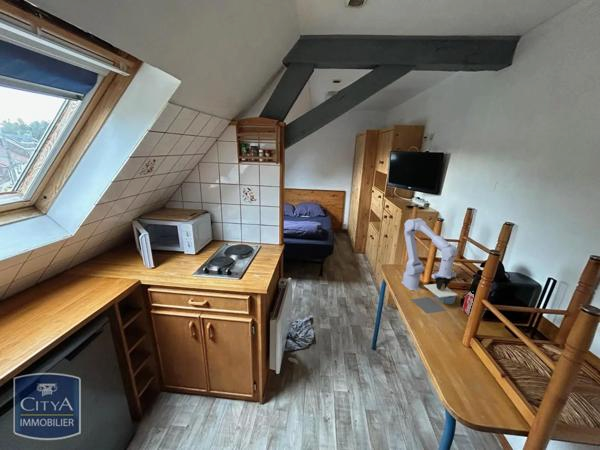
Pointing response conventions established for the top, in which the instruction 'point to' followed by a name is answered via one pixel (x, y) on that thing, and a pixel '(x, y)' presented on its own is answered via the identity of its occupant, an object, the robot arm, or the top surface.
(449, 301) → the bowl
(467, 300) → the soda can
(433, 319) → the top surface
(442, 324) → the top surface
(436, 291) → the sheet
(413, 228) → the robot arm
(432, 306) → the mat
